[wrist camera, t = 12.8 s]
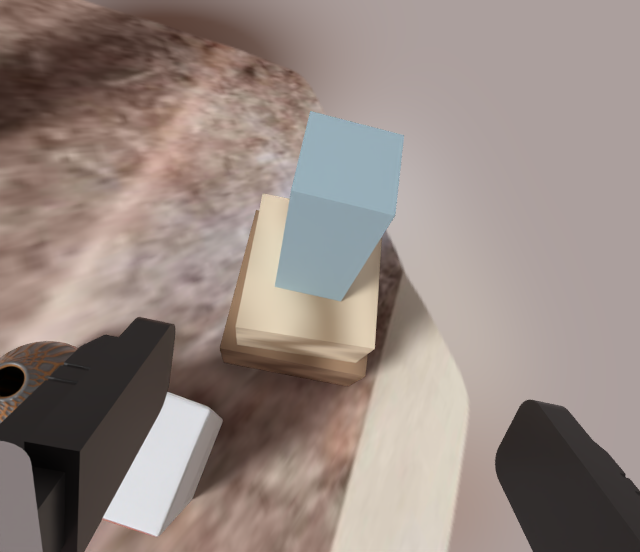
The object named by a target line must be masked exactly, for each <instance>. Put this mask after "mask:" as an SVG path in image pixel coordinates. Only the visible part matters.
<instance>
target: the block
mask: <svg viewBox="0 0 640 552" xmlns="http://www.w3.org/2000/svg"><path fill="white" fill-rule="evenodd" d="M403 140H404V135H401V134H397V133H393V132H389V131H385V130H382V129H378V128H374V127H370V126H366V125H362V124H358V123H354V122H351V121H347V120H343V119H339V118H335V117H331V116H327V115H324V114H320V113H316V112H312V111H310V115H309V119H308V123H307V127H306V131H305V135H304V139H303V144H302V148H301V152H300V156H299V160H298V164H297V168H296V172H295V177H294V181H293V185H292V189H291V194H290V200H289V206H288V212H287V217H286V223H285V229H284V235H283V241H282V247H281V253H280V259H279V264H278V270H277V276H276V282H275V287H278V288H283V289H287V290H292V291H296V292H301V293H305V294H310V295H314V296H319V297H323V298H328V299H332V300H337V301H341V300H342V299H343V297H344V296H345V294H346V293H347V291H348V289H349V288H350V286H351V285H352V283H353V282H354V280H355V278H356V277H357V275H358V274H359V272H360V270H361V269H362V267H363V266H364V264H365V263H366V261H367V259H368V258H369V256H370V255H371V253H372V251H373V250H374V248H375V247H376V245H377V244H378V242H379V240H380V239H381V237H382V236H383V234H384V232H385V231H386V229H387V228H388V226H389V225H390V223H391V221H392V220H393V218H394V217H395V213H396V203H397V195H398V186H399V176H400V167H401V158H402V149H403Z"/></svg>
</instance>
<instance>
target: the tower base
mask: <svg viewBox="0 0 640 552" xmlns="http://www.w3.org/2000/svg"><path fill="white" fill-rule="evenodd" d="M258 215H259V211H258V210H256V213H255V216H254V220H253V224H252V228H251V231H250V235H249V239H248V243H247V247H246V250H245V254H244V258H243V262H242V266H241V269H240V273H239V277H238V281H237V284H236V288H235V292H234V296H233V300H232V303H231V307H230V311H229V315H228V318H227V322H226V326H225V330H224V334H223V337H222V341H221V345H220V351H221V354H222V358H223V362H224V363H229V364H234V365H239V366H245V367H250V368H255V369H260V370H265V371H270V372H276V373H281V374H286V375H291V376H296V377H302V378H307V379H312V380H317V381H322V382H327V383H333V384H338V385H343V386H350V385H351V384H353V383H355V382H357V381H358V380H360V379H362V378H364V377H365V374H366V365H367V357H368V354H367V355H366V356H364V357H363V358H362V359H360V360H359V361H358V362H356V363H354V362H347V361H341V360H334V359H327V358H321V357H314V356H308V355H301V354H295V353H288V352H281V351H275V350H268V349H262V348H255V347H249V346H242V345H237V338H236V322H237V317H238V312H239V308H240V303H241V298H242V293H243V288H244V283H245V278H246V273H247V269H248V264H249V259H250V254H251V249H252V244H253V239H254V235H255V230H256V225H257V220H258Z"/></svg>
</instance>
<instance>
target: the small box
mask: <svg viewBox="0 0 640 552" xmlns="http://www.w3.org/2000/svg"><path fill="white" fill-rule="evenodd" d="M222 422H223V419H222V418H221V417H219V416H218V415H217V414H216V413H215V412H214V411H213V410H212V409H211V408H209V407H208V406H205V405H203V404H200V403H197V402H195V401H192V400H189V399H186V398H184V397H181V396H178V395H175V394H173V393H170V392H167V395H166V398H165V401H164V404H163V407H162V409H161V411H160V413H159V415H158V417H157V419H156V421H155V423H154V424H153V426H152V428H151V430H150V432H149V434H148V435H147V437H146V439H145V441H144V443H143V445H142V446H141V448H140V450H139V452H138V454H137V456H136V458H135V459H134V461H133V463H132V465H131V467H130V469H129V470H128V472H127V474H126V476H125V478H124V480H123V481H122V483H121V485H120V487H119V489H118V491H117V492H116V494H115V496H114V498H113V500H112V502H111V503H110V505H109V507H108V509H107V511H106V513H105V515H104V516H103V518H102V520H105V521H108V522H111V523H114V524H117V525H120V526H123V527H126V528H129V529H132V530H135V531H138V532H142V533H145V534H148V535H151V536H154V537H158V536H159V535H160V534H161V533H162V532H163V531H164V530H165V529H166V528H167V527H168V526H169V525H170V524H171V522H172V521H173V520H174V519H175V518H176V517H177V516H178V515H179V514H180V513H181V512H182V510H183V509H184V508H185V507H186V506H187V505H188V504H189V503H190V502H191V500H192V498H193V496H194V493H195V491H196V488H197V486H198V483H199V481H200V478H201V476H202V473H203V470H204V468H205V465H206V463H207V460H208V458H209V455H210V453H211V450H212V448H213V445H214V442H215V440H216V437H217V435H218V432H219V430H220V427H221V425H222Z"/></svg>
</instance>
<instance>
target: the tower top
mask: <svg viewBox="0 0 640 552" xmlns="http://www.w3.org/2000/svg"><path fill="white" fill-rule="evenodd" d="M289 200H290V199H288V198H282V197H277V196H272V195H267V194H263V196H262V200H261V205H260V210H259V215H258V220H257V225H256V230H255V235H254V239H253V244H252V249H251V254H250V259H249V264H248V269H247V273H246V278H245V283H244V288H243V293H242V298H241V303H240V308H239V312H238V317H237V322H236V338H237V345H242V346H249V347H255V348H262V349H268V350H275V351H281V352H288V353H295V354H301V355H308V356H314V357H321V358H327V359H334V360H341V361H347V362H354V363H356V362H358V361H359V360H360V359H362V358H363V357H364V356H366V355H367V354H368V353H370V352H371V351H372V350H374V349H375V336H376V321H377V305H378V289H379V274H380V258H381V242H382V237H381V239H380V240H379V242H378V244H377V245H376V247H375V248H374V250H373V251H372V253H371V255H370V256H369V258H368V259H367V261H366V263H365V264H364V266H363V267H362V269H361V270H360V272H359V274H358V275H357V277H356V278H355V280H354V282H353V283H352V285H351V286H350V288H349V289H348V291H347V293H346V294H345V296H344V297H343V299H342V300H341V301H337V300H332V299H328V298H323V297H319V296H314V295H310V294H305V293H301V292H296V291H292V290H287V289H283V288H278V287H275V282H276V276H277V270H278V264H279V259H280V253H281V247H282V241H283V235H284V229H285V223H286V217H287V212H288V206H289Z"/></svg>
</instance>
